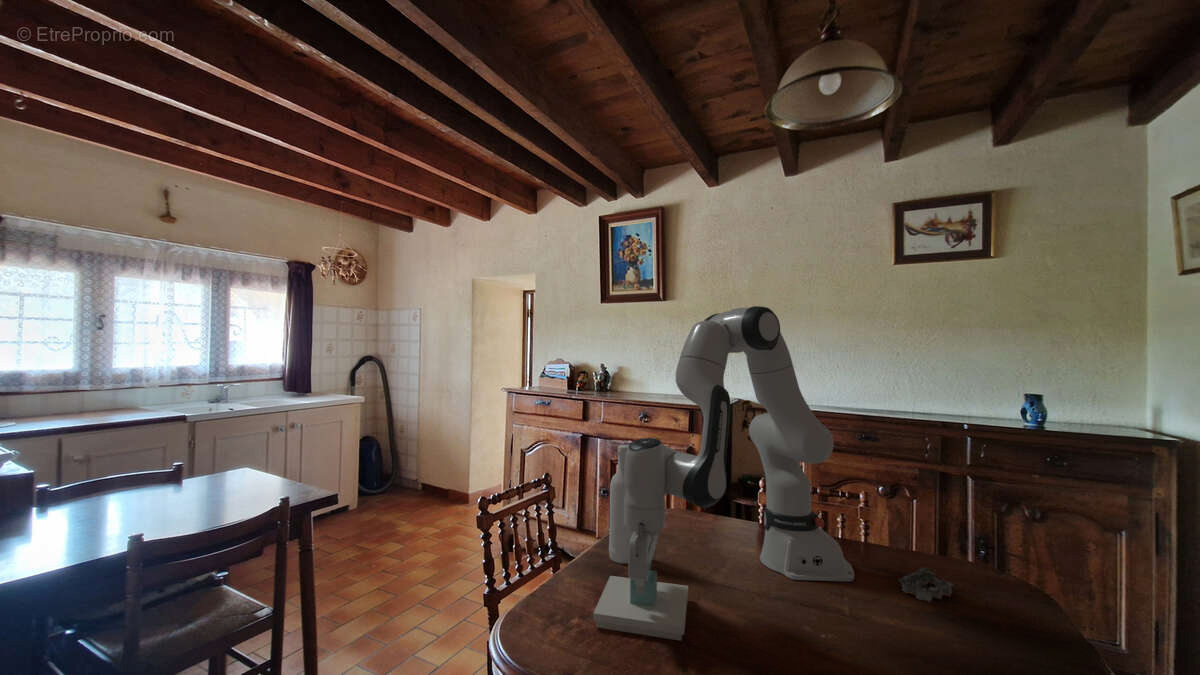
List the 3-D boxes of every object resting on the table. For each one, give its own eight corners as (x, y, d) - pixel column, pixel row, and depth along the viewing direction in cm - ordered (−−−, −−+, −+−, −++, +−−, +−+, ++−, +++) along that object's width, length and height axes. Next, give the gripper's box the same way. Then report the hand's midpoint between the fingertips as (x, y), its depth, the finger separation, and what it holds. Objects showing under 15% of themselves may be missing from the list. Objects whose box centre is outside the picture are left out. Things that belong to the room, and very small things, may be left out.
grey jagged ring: (926, 582, 114) (926, 566, 114) (958, 598, 106) (958, 580, 107) (894, 588, 110) (894, 571, 110) (924, 605, 103) (924, 586, 103)
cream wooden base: (688, 599, 104) (688, 585, 104) (684, 642, 88) (684, 626, 88) (610, 588, 108) (610, 575, 108) (593, 628, 93) (593, 613, 93)
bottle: (644, 557, 125) (645, 446, 126) (626, 567, 119) (627, 450, 120) (621, 548, 130) (622, 441, 131) (602, 557, 124) (604, 445, 125)
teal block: (656, 594, 100) (656, 570, 100) (653, 606, 95) (654, 582, 96) (634, 591, 101) (634, 568, 102) (630, 603, 97) (630, 579, 97)
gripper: (653, 536, 88) (652, 609, 88) (663, 502, 108) (663, 562, 108) (620, 533, 90) (620, 605, 89) (637, 500, 109) (636, 559, 109)
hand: (643, 581), depth 98 cm, fingers open, 8 cm apart
